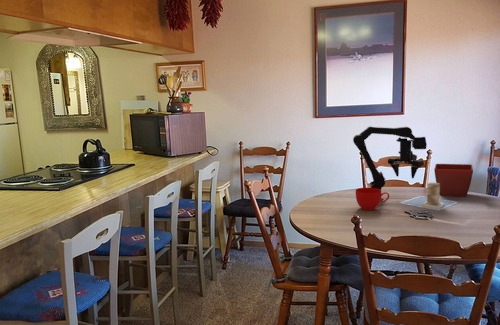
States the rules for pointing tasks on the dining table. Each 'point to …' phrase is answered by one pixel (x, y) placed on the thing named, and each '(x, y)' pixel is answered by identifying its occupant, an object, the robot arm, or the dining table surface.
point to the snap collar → (433, 205)
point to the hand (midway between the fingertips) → (405, 177)
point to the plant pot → (453, 179)
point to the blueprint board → (421, 199)
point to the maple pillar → (433, 193)
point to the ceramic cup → (369, 198)
